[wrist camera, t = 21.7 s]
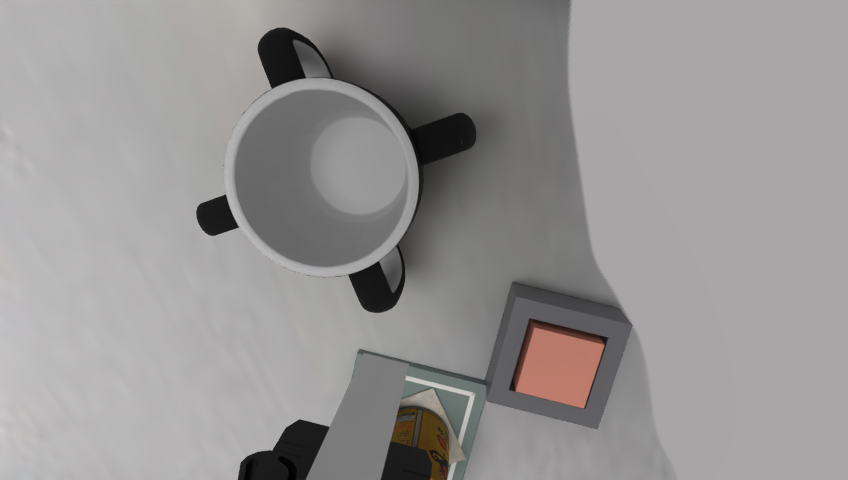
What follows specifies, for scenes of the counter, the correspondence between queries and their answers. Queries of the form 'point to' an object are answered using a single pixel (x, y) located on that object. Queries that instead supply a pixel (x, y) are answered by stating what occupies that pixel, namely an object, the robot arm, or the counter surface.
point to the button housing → (563, 313)
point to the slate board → (447, 402)
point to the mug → (327, 173)
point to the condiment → (428, 431)
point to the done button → (557, 363)
